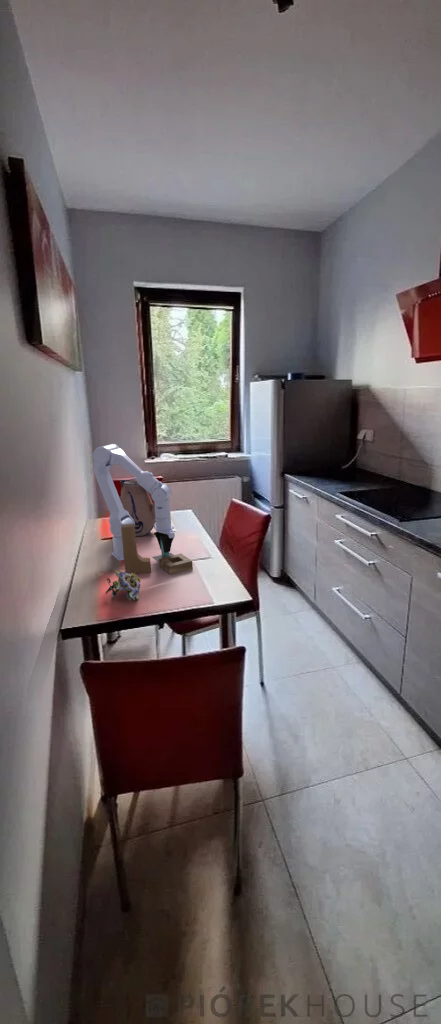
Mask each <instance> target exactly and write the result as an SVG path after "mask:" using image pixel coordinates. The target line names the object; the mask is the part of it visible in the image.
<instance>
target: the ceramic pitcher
mask: <svg viewBox="0 0 441 1024" xmlns="http://www.w3.org/2000/svg"><path fill="white" fill-rule="evenodd" d="M119 482H120V486H121V489H120V496H119V498H120V500H121V503H122V505H123V508H124V509H125V510H126V511H128V512H129V515H130V516H131V517H132V518H133V520H134V522H135V536H136V537H142V536H145V535H148V534H149V533H150V532H151V531H152V530H153V529H154V524H156V518H155V502H154V501H153V499H152V497H151V494H150V493H149V492H148V491H146V490H145V489H144V488H143V487H142V486H141V485H139V484H138V483H137V478H136V477H135V478H131V479H129V480H126V479H121V480H119Z"/></svg>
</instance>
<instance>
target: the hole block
mask: <svg viewBox="0 0 441 1024" xmlns="http://www.w3.org/2000/svg"><path fill="white" fill-rule="evenodd" d="M158 565H159V568H160V569H162V570H163V571H165V573H167V574H168V575H175V574H179V573H182V572H186V571H190V570H191V571H192V570H193V569H194V568H193V560H192V559H190V558H188V557H187V556H185V555H184V554H183V553H178V554H173V556H168V557H164V558H160V559H159V562H158Z"/></svg>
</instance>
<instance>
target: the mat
mask: <svg viewBox="0 0 441 1024" xmlns="http://www.w3.org/2000/svg"><path fill="white" fill-rule="evenodd" d="M173 555H174V553H172V552H169V556H173ZM160 558H162V554H159V555H156V556H152V559H154V560H155V561H157V562H158V563H159V559H160Z"/></svg>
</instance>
